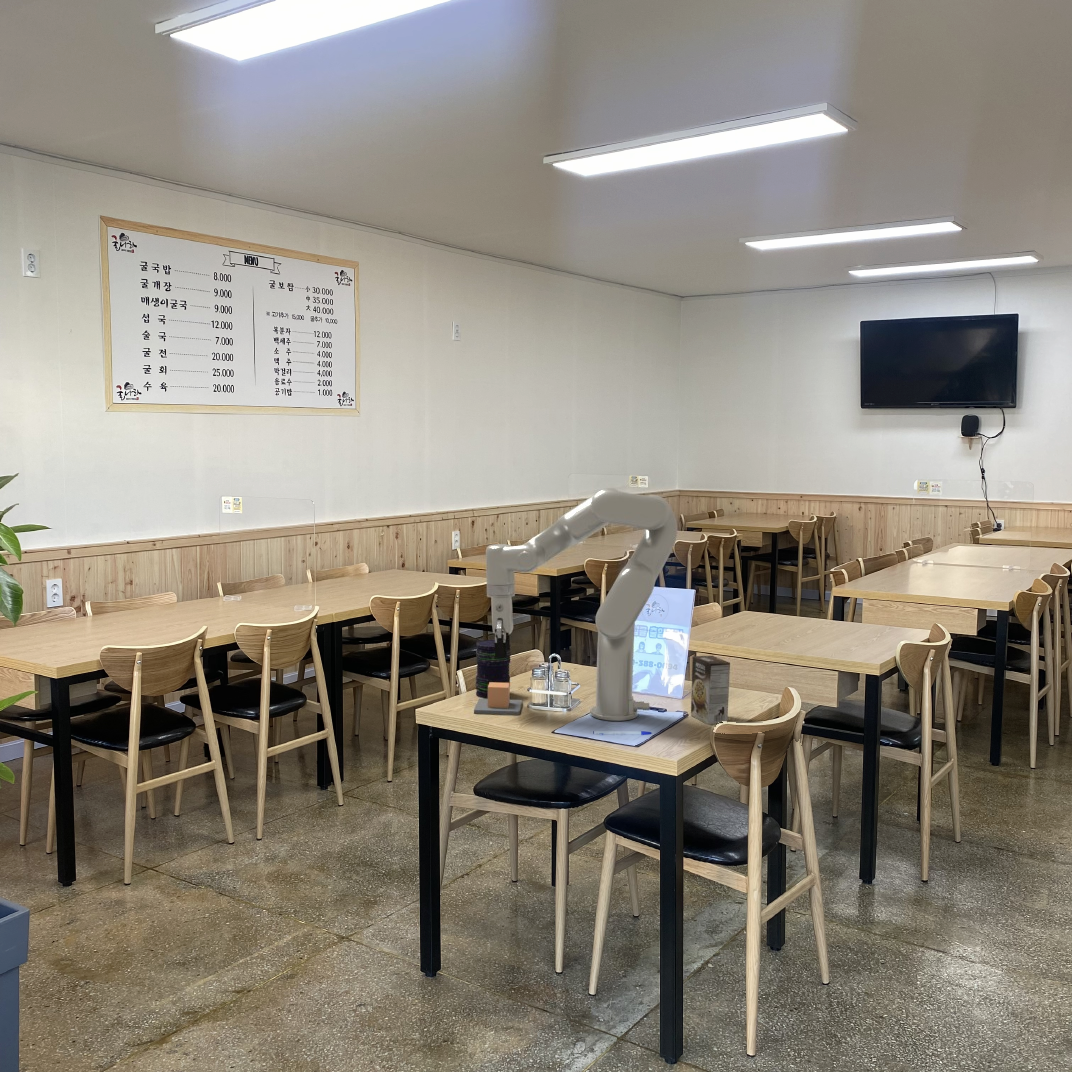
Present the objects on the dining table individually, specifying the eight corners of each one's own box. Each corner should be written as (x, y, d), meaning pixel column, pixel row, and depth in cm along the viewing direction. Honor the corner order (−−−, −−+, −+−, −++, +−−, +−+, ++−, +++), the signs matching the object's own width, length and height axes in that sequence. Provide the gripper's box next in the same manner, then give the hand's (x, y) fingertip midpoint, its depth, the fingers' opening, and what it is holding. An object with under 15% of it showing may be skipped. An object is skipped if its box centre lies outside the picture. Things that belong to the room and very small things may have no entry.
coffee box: (689, 715, 265) (691, 656, 263) (710, 713, 267) (712, 654, 266) (707, 724, 256) (709, 663, 255) (728, 722, 258) (730, 661, 257)
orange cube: (509, 702, 271) (509, 682, 270) (508, 707, 265) (508, 687, 265) (489, 702, 271) (489, 682, 271) (487, 707, 266) (487, 687, 265)
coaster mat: (522, 703, 274) (522, 700, 274) (519, 715, 262) (519, 711, 262) (478, 702, 275) (478, 698, 275) (473, 713, 263) (473, 710, 263)
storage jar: (494, 700, 276) (495, 648, 275) (468, 695, 282) (468, 643, 281) (517, 694, 284) (517, 642, 283) (490, 688, 290) (491, 638, 289)
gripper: (512, 594, 257) (514, 660, 258) (517, 586, 274) (518, 647, 275) (483, 595, 257) (485, 660, 258) (490, 586, 274) (491, 647, 276)
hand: (502, 653), depth 267 cm, fingers open, 9 cm apart
